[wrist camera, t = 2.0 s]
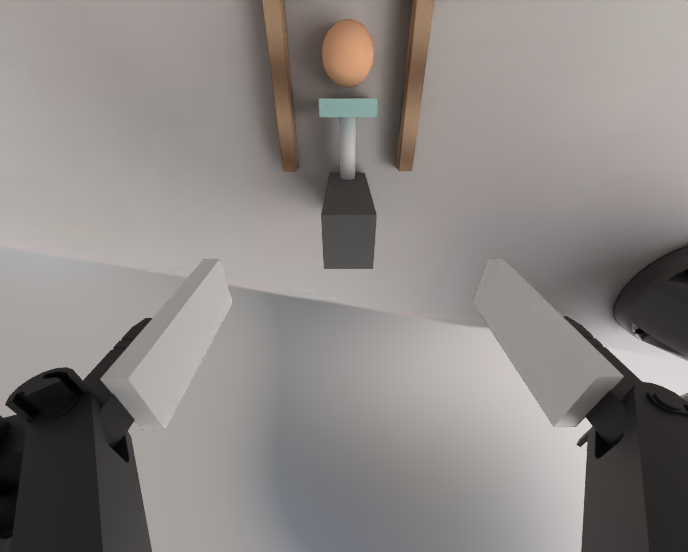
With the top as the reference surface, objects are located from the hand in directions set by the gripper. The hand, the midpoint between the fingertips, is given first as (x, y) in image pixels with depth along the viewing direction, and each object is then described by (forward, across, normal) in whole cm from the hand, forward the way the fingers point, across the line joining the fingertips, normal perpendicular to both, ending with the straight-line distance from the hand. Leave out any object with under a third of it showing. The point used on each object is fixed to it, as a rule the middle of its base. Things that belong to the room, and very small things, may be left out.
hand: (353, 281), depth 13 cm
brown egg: (+15, 0, -10) cm, 19 cm away
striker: (+17, 0, -3) cm, 17 cm away
